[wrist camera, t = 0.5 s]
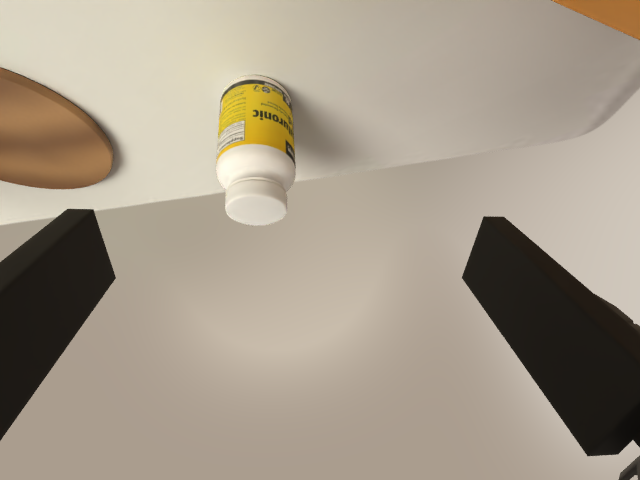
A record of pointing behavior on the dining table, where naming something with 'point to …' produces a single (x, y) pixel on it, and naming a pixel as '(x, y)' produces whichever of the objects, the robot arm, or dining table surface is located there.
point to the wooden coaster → (48, 138)
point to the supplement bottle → (255, 150)
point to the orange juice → (610, 13)
